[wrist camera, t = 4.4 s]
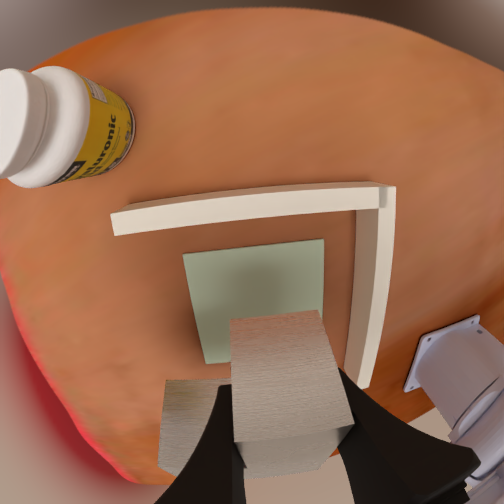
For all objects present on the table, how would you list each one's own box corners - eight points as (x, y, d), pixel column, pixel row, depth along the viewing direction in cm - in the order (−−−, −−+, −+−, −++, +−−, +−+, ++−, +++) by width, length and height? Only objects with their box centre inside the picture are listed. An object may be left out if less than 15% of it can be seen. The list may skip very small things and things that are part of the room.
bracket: (303, 397, 15) (317, 469, 11) (183, 406, 15) (180, 478, 11) (318, 309, 11) (354, 423, 6) (134, 324, 10) (109, 434, 6)
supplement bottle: (99, 192, 15) (-8, 234, 6) (53, 141, 14) (-55, 147, 4) (155, 127, 14) (69, 94, 5) (104, 78, 13) (9, 28, 4)
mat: (322, 238, 18) (323, 239, 17) (319, 347, 20) (320, 349, 20) (182, 253, 17) (182, 254, 17) (206, 362, 20) (205, 363, 20)
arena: (371, 181, 17) (395, 186, 14) (355, 364, 22) (368, 387, 19) (128, 204, 16) (110, 213, 13) (178, 388, 21) (174, 414, 18)
